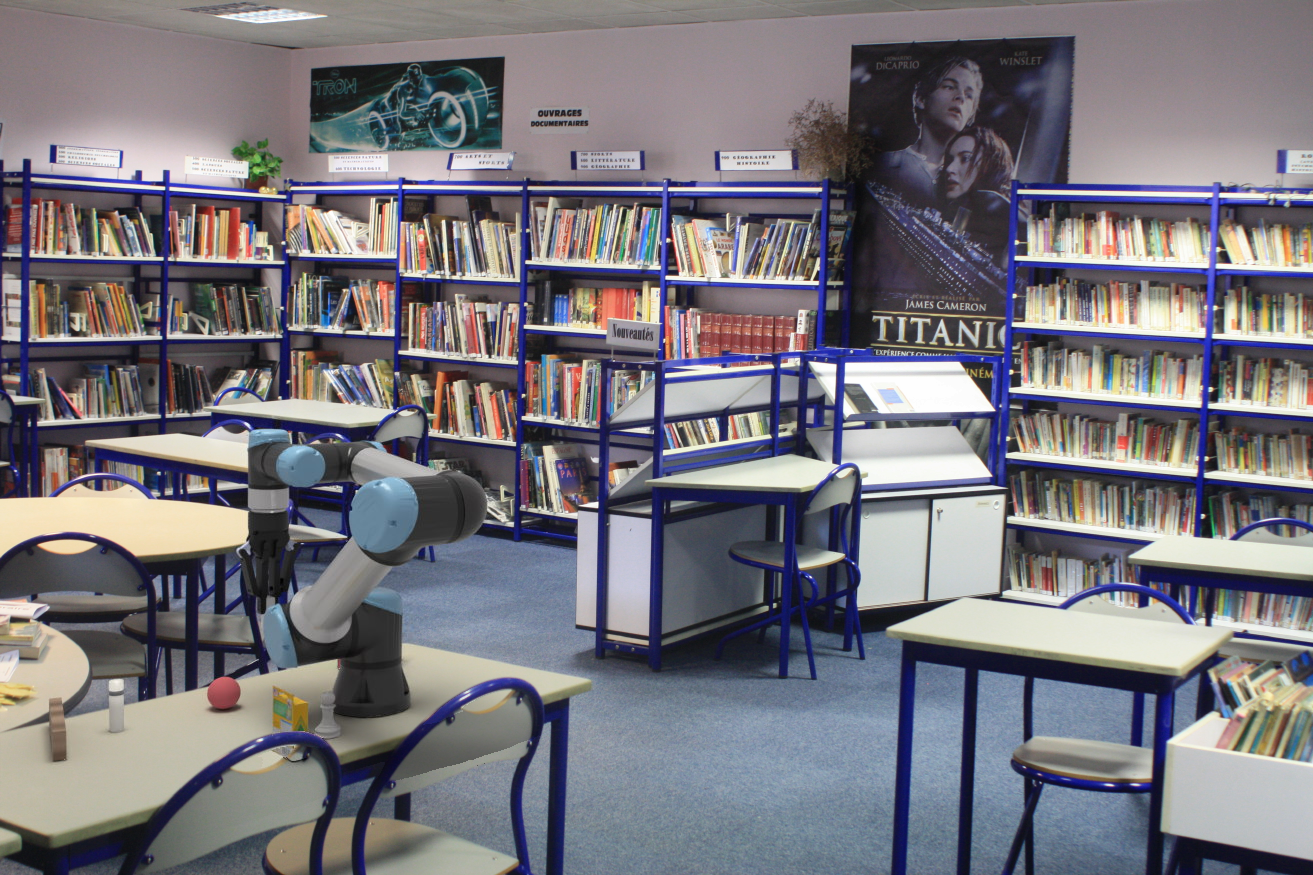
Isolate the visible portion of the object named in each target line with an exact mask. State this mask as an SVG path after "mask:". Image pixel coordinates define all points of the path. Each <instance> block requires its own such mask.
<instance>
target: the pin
mask: <svg viewBox="0 0 1313 875" xmlns="http://www.w3.org/2000/svg"><path fill="white" fill-rule="evenodd" d="M124 682H125V681H124V679H123V678H114V679H110V680H109V681H108V722H109V724H108V728H109V729H108V732H109V733H120V732H123V731H124V730H125V716H124V715H125V714H124V713H125V704H124V703H125V702H124V701H125V699H124V698H125V696H124V695H125V687H124V685H125V683H124Z"/></svg>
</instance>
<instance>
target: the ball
mask: <svg viewBox="0 0 1313 875" xmlns="http://www.w3.org/2000/svg"><path fill="white" fill-rule="evenodd" d="M241 690H242V689H241V686H240V684H239V683H238V682H237V680H235V679H234V678H232V677H230V676H221V677H218V678H216V679H214V680H213V681H212V682H211V683H210V685H209V686H208V688H207V690H206V691H207V692H206V696H207V700H208V702H209V704H210V705H211V706H212V707H214V708H216V709H218V710H226V709H230V708H232V707H234V706H235V705H236V704H237V703H238V702H239V700H240V697H241V695H242V694H241V693H242V692H241Z"/></svg>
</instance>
